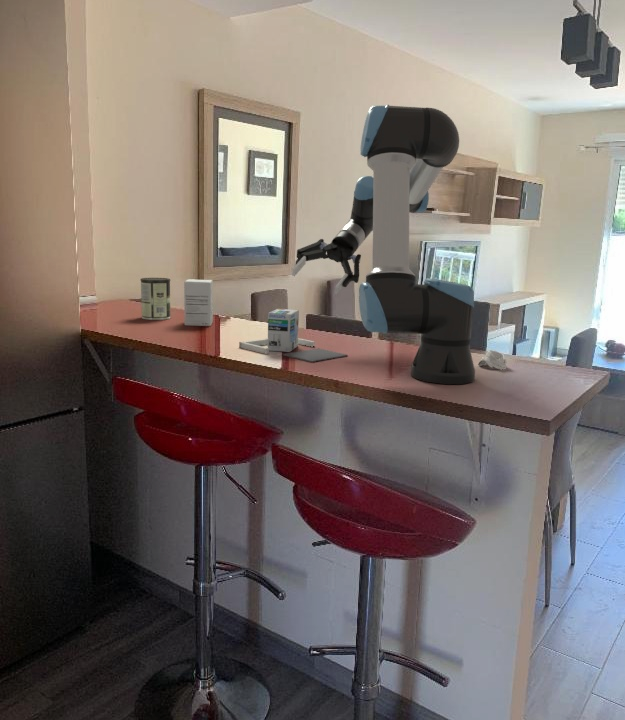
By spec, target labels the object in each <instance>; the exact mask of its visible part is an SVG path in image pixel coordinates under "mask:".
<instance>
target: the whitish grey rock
mask: <svg viewBox="0 0 625 720" xmlns="http://www.w3.org/2000/svg"><path fill="white" fill-rule="evenodd" d="M507 364H508V363H507V360H506V357H505V355H504V354H503V353H501V352H498V351H496V350H491V349H489V350H488V351H487V353H485V356H482V357H481V359H480V361H478V364H477V365H478V366H479V367H482V366H484V367H485V366H489V368H491V369H492V368H495V369H497V370H500V371H503V370H506V369H507ZM502 369H503V370H502Z"/></svg>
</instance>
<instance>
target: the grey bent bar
mask: <svg viewBox="0 0 625 720" xmlns="http://www.w3.org/2000/svg"><path fill="white" fill-rule="evenodd" d="M238 344H239V345H238V346H239V348H240V349H244V350H247V351H248V350H249V351H252V352H255V353H260V354H265V355H269V354H270V351H269V348H268V347H265V345H267V346H268V338H263V339H262V338H261V339H254V340H247V341H239V343H238ZM298 345H302V346H305V345H306V347H310V346H311V348H314V347H313V346H316V341H314V340H309V339H305V338H299V337H298Z"/></svg>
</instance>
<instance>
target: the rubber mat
mask: <svg viewBox="0 0 625 720" xmlns="http://www.w3.org/2000/svg"><path fill="white" fill-rule="evenodd" d="M282 356H284V357H288V358H290V359H291V358H292V359H296V360H300V361H304V362H309V363H316V361H318V362H322V361H321V360H323V361H328V360H327V359H329V360H334V359H333V358H335V359H339V358H345V357H348V354H345V353H342V352H336V351H332V350H328V349H323V348H319V347H318V348H312V349H307V350H301V351H299V350H298V351H293V352H285V353H282Z"/></svg>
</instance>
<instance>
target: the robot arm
mask: <svg viewBox="0 0 625 720" xmlns="http://www.w3.org/2000/svg"><path fill="white" fill-rule="evenodd" d="M361 135H362V137H361V143H360V155H361V157H364V158H367V159H366V164H367V167H368V168H370V170H371V171H373V175H363V176H362V177H361V176H360V177H359V178H358V180H357V181H356V184H355V188H354V191H353V198H352V199H353V201H352V207H351V213H350V219H349V220H348V222H347V223H346V224H344V226H343V227H342V228H341V229H340V231H339V232H338V233H337V234H336V235H335V237H333V239H332V240H331V242H330V243H326V242H325V239H323V238H319V239H318V240H317V241H316V242H313V243H312V244H308V245H307V246H306V245H305V246H303V247H301V248H298V249H297V250H296V260H295V265H294V266H293V268H292V274H291V275H292V276H293V277H295V276H296V275H297V274H298V273H299V272H300V271H301V270H302V268H303V267H304V266H305V265H306V263H307V262H309V261H315V260H320V259H324V260H326V259H329V260H330V261H331V260H332V261H334V262H336V263H340V264H341V267H342V268H343V271H344V274H343V276H341V279H340V280H339V281H338V282H337V284H336V285H335V286H334V290H333V294H334V295H338V293H339V292H340V291H341V290H342V288H346V287H348V285H349V284H350V283H351V282H354V284H355V283H356V284H358V283H359V280H360V263H361V257H362V254H360V253H358V254H356V255H355V253H356V252H357V251H358V249H359V248H360V247H361V246H362V244H363V243H364V241H365V240H366V239H367V238H368V237H369V235H370V234H371V233H372V268H371V270H370V271H369V272H368V273H367V274H366V276H365V281H363V282H361V283H360V284H359V287H358V306H359V315H360V319H361V322H362V325H363V327H364V328H365V330H366V331H368V332H370V333H380V334H383V335H386V334H412V335H414V334H418V335H419V334H420V344H419V347H418V349H417V352H416V354H415V357H414V359H413V361H412V364H411V368H410V376H411V377H413V379H417V380H420V381H422V382H427V383H432V384H433V383H434V384H442V385H464V384H469V383H472V382H474V381H475V377H476V375H475V374H476V370H475V365H474V361H473V360H474V359H473V357H472V352H471V347H470V346H471V337H472V326H473V316H474V308H475V291H474V289H473V288H472V287H471V286H470V285H468V284H463V283H459V282H454V281H448V280H445V279H444V280H443V279H437V278H430V277H429V278H427V277H426V279H425V280H424V282H423V283H424V284H419V283H416V278H417V277H416V274H415V273H414V272H413V271H412V270H411V269H410V213H411V214H417V213H425V211H427V208H428V205H429V197H430V195H429V194H430V193H429V190H430V188H431V187H432V186H433V183H435V180H436V179H437V177H438V176H439V174H440V173H441V171H442V170H443V169H444V168H445V167H447V166H448V165H450V164H451V163H452V162H453V160H454V159H455V157H456V156H457V154H458V151H459V148H460V136H459V135H460V134H459V131H458V128H457V126H456V124H455V123H454V121H453V119H452V118H451V117H450V116H449V115H448V114H446V113H445V112H444V111H442V110H440V109H438V108H433V107H416V106H404V105H403V106H402V105H401V106H400V105H399V106H398V105H390V104H386V105H372V106H371V107H370V108H369V110H368V112H367V115H366V116H365V121H364V125H363V130H362V134H361ZM350 260H351V261H352V263H353V271H352V268H351V266H350V262H349V261H350Z"/></svg>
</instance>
